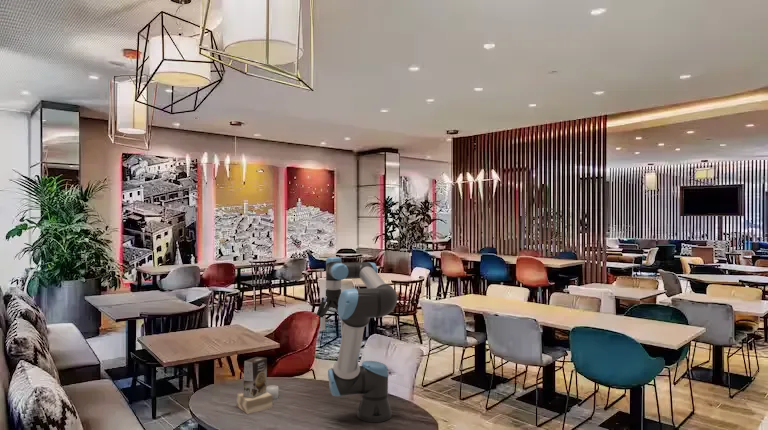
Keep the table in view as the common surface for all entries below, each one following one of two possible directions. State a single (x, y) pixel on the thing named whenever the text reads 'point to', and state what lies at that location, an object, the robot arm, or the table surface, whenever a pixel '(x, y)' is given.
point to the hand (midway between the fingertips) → (332, 332)
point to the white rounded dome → (272, 391)
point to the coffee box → (255, 377)
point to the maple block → (254, 402)
